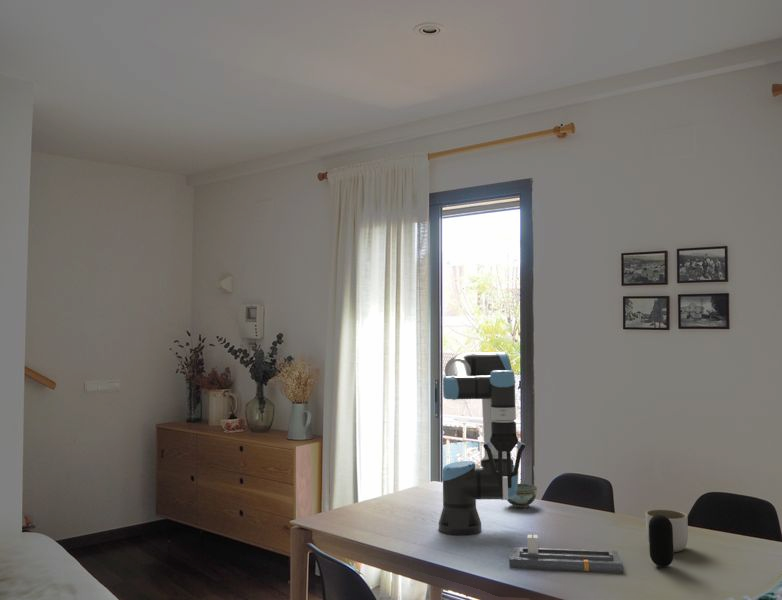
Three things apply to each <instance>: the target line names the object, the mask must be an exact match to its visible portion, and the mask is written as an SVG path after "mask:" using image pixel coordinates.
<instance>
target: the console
mask: <svg viewBox="0 0 782 600" xmlns="http://www.w3.org/2000/svg"><path fill="white" fill-rule="evenodd" d="M508 554H509V558H508V559H509V560H508V561H509V563H508V565H509V566H508V567H509V569H530V570H532V569H533V570H550V571H551V570H552V571H553V570H555V571H574V572H600V573H619V574H621V573H624V572H623V570H624V569H623V561H622V560H621V556H620V555H619V553H618V551H617V550H602V549H600V550H599V549H584V548H583V549H582V548H581V549H572V548H571V549H570V548H546V547H543V548H542V547H538V553H528V547H524V546H523V547H522V546H520V547H519V546H510V547H509V553H508Z"/></svg>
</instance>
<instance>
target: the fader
mask: <svg viewBox="0 0 782 600" xmlns="http://www.w3.org/2000/svg"><path fill="white" fill-rule="evenodd" d="M527 548H528V553H538V548H539V536H538V534H534V533H532V534H527Z"/></svg>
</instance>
